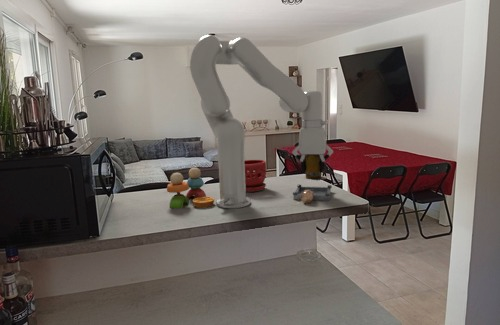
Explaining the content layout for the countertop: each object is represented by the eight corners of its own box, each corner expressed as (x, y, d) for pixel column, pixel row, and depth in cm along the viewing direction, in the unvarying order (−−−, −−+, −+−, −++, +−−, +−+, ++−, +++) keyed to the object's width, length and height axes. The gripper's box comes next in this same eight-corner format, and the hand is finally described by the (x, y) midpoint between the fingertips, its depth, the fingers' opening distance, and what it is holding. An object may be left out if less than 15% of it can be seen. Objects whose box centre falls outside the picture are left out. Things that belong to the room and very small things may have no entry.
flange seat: (328, 204, 136) (328, 193, 135) (290, 203, 140) (290, 192, 139) (331, 191, 153) (331, 181, 153) (297, 190, 157) (297, 181, 156)
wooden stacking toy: (209, 209, 136) (207, 175, 134) (164, 208, 140) (161, 174, 138) (223, 196, 153) (222, 165, 151) (183, 195, 157) (181, 165, 155)
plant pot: (268, 185, 168) (267, 158, 166) (265, 193, 155) (264, 164, 153) (238, 185, 170) (237, 158, 167) (233, 193, 157) (231, 164, 155)
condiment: (312, 174, 153) (311, 144, 151) (329, 177, 147) (329, 146, 145) (300, 178, 149) (299, 147, 146) (317, 181, 142) (316, 149, 140)
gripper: (336, 123, 145) (336, 169, 148) (290, 124, 150) (292, 169, 153) (335, 124, 138) (335, 173, 141) (287, 126, 143) (289, 173, 146)
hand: (312, 171), depth 147 cm, fingers closed on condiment, 6 cm apart
